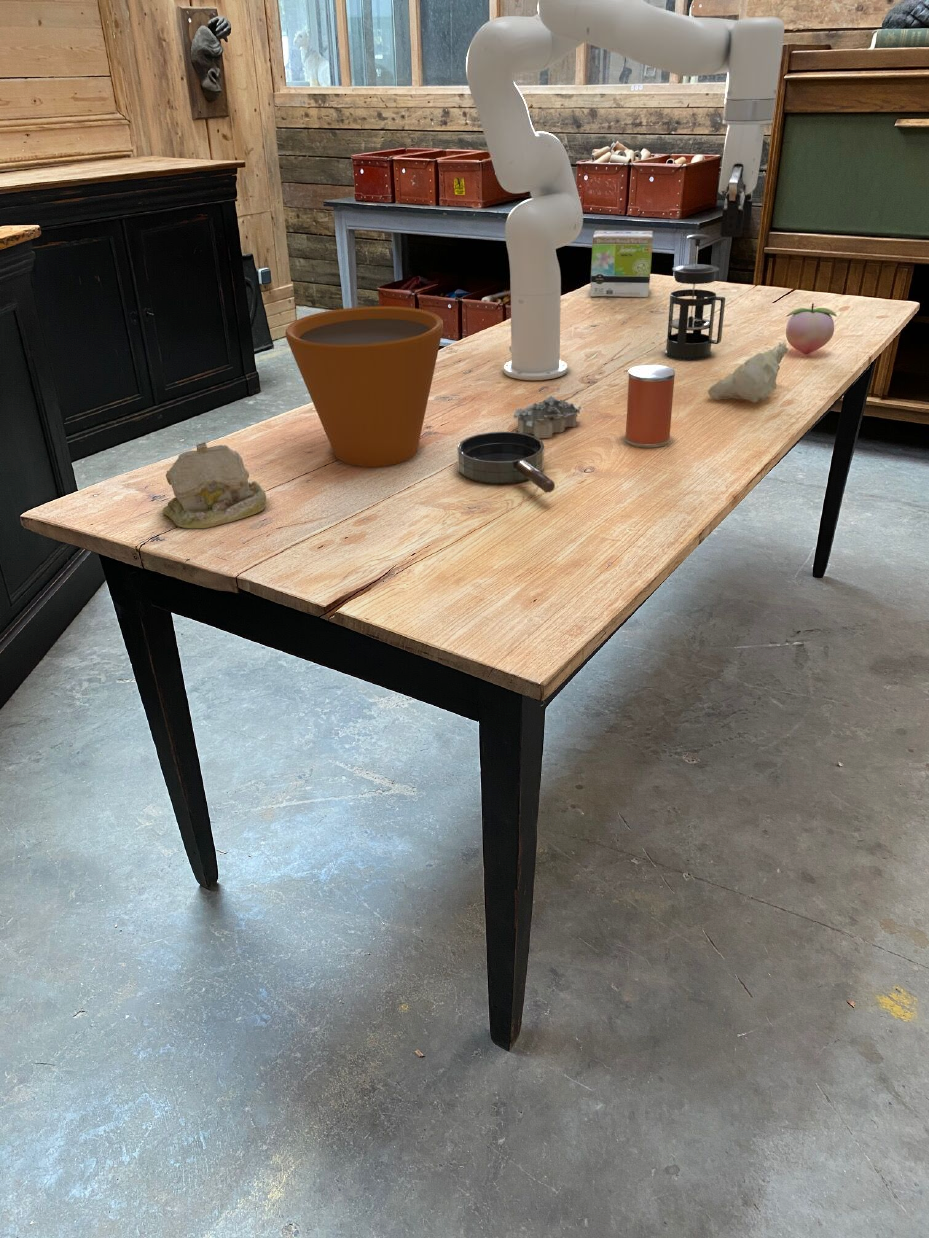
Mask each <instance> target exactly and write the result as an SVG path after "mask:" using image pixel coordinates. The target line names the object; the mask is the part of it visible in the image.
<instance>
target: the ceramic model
mask: <svg viewBox="0 0 929 1238" xmlns="http://www.w3.org/2000/svg"><path fill="white" fill-rule="evenodd" d="M195 446H196V450H187V451H185V452H183V453H180V454H179V455H178V457H177V459H176V460H175V462H174V463H173V465H171V467H170V468H169V469H168V470H166V474H165V478H166V482H167V483H168V485H169V486H171V488H172V492H173V495H174V497H173V498H171V500H169V501H168V502H167V505H165V506H164V507H163V509H162V514H163V515H165V516H167V517H168V518H170V520H172V522H173V523H174V525H175V526H177V527H179V528H184V529H208V528H209V529H210V528H212V527H216V526H221V525H224V524H228V523H231V522H234V521H238V520H242V519H244V518H247V517H250V516H253V515H257V513H260V512H262V511H263V510H264V509H265V508H266V504H267V495H266V492H265V490H264V489H263V488H262V486H261V485H260V484H259V482H257V481H252V482H250V481H249V478H250V473H249V471H248V469H247V468H246V467H245V464H244V461H243V457H242V456H241V455H240V453H238V451H237V450H234V449H232V448H230V447H229V446H227V445H226V444H224V445H223V444H218V445H213V446H209V447H208V446H207V442H205V441H204V442H201V443H197V444H196V445H195Z"/></svg>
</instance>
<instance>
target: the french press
mask: <svg viewBox="0 0 929 1238" xmlns="http://www.w3.org/2000/svg"><path fill="white" fill-rule="evenodd" d="M686 239H689V240H694V246H695V247H696V248H695V260H694V263H689V264H680V265H675V266H673V267H671V271H672V272H673V274H674V275H673V276H674V280H675V281H676V283H678V284H679V283H680V284H688V285H692V289H691V288H690V289H679V290H673V291H671V292H670V294H669V309H668V310H669V311H668V323H667V324H668V325H667V336H666V344H665V345H666V346H665V347H666V348H665V350H664V355H665V357H667V358H669V359H672V360H677V361H687V362H688V361H689V362H692V361H693V362H694V361H702V360H707V359H709V358H711V357H712V353H713V352H712V345H719V344H720V343H721V342H722V336H723V335H722V334H723V326H724V318H725V308H726V307H725V306H726V297H724V296H717V293H716V292H715V291H711V290H706V289H695V288H696V285H704V284H711V283H714V282H716V278H717V273H718V272H719V271H720V268H719V267H718V266H715V265H711V264H704V263H703V264H702V263H701V264H699V263H698V254H699V247H700V246H701V241H702V240H708V239H710V236H709V235H706V234H700V233H698V234H691V235H687V236H686ZM683 297H684V298H683ZM685 297H691V298H685ZM716 301H720V308H719V318H718V327H717V336H716V340H715V339H713V331H714V321H715V311H716V303H717V302H716ZM675 305H678V306H679V315H678V316H679V317H678V318H674V306H675ZM710 305H711V306H710ZM705 306H710V316H709V317H710V318H709V319H706V318H704V310H705V309H704V308H705ZM689 309H690V316H689ZM693 309H694V310H693ZM693 311H694V316H693ZM673 329H675V330H677V332H676V333H673V331H672V330H673ZM703 330H704V331H705V330H708V334H705V333H702V331H703ZM687 331H689V332H687ZM690 331H692V332H690Z"/></svg>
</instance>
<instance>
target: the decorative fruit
mask: <svg viewBox="0 0 929 1238" xmlns="http://www.w3.org/2000/svg"><path fill="white" fill-rule="evenodd" d="M814 306H815V303H811V308H805V307H800V308H795V309H793V310H792V311H790V312H789V313H788V314H787V315H786V316H785V317H789V319H788V321H787V324H786V327H785V338H786V340H787V342H788V343H789V345H790V346H791V347H792V348H793V349H795V350H796V351H798V352H799V353H802V354H803V355H808V354H809V355H810V354H812V353H813V352H815V351H817V350H820V349H821V348H823V347H824V346H826V345H827V344H828V343H829V342H830V340H831V339H832V338H833V336H834V332H835V323H834V319H833V317H832V316H834V317H838V316H837V314H836V313H835V312H834V311H833V310H832V309H830V308H826V307H817V308H814Z"/></svg>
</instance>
